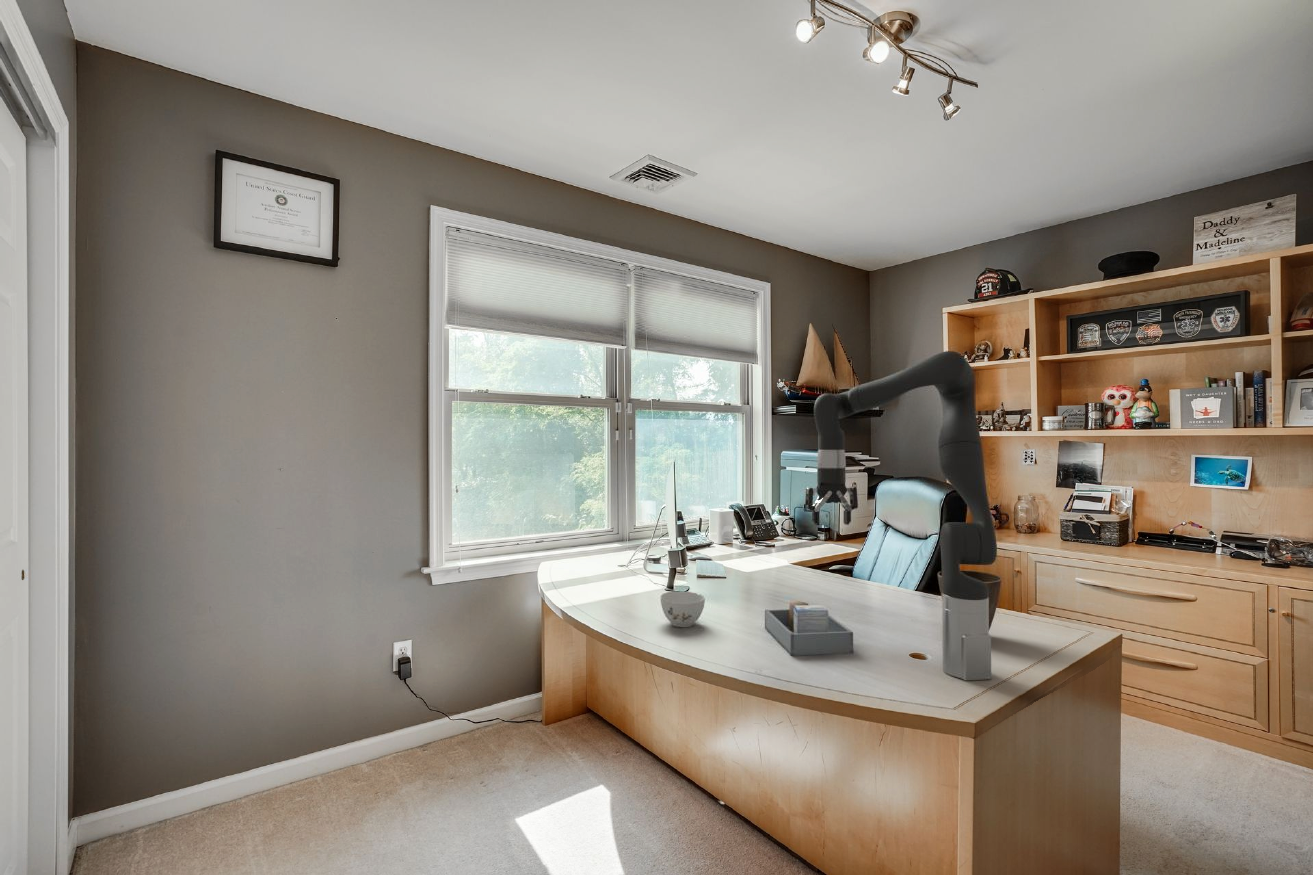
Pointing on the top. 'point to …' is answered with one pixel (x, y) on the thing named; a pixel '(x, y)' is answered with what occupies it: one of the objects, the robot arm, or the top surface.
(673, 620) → the teacup
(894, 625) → the top surface
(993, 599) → the plant pot
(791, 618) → the tan bread loaf
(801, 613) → the medicine box
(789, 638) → the tote
